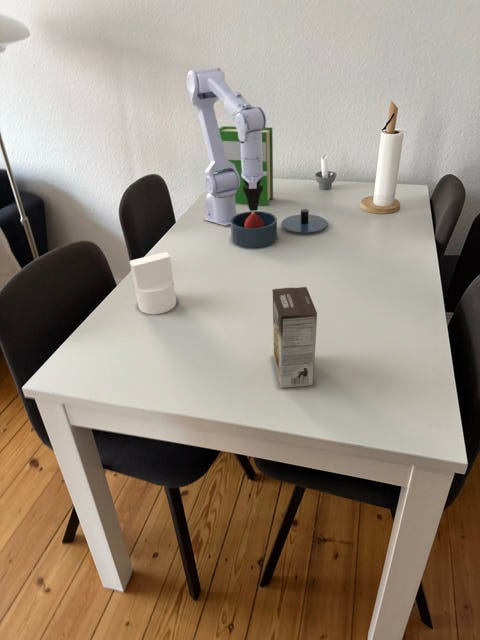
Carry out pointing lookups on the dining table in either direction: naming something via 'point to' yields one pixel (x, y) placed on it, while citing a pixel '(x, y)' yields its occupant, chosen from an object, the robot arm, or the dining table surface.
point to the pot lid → (304, 223)
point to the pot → (254, 231)
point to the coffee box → (294, 336)
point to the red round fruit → (254, 221)
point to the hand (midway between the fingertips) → (253, 205)
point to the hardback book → (234, 156)
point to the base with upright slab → (154, 283)
